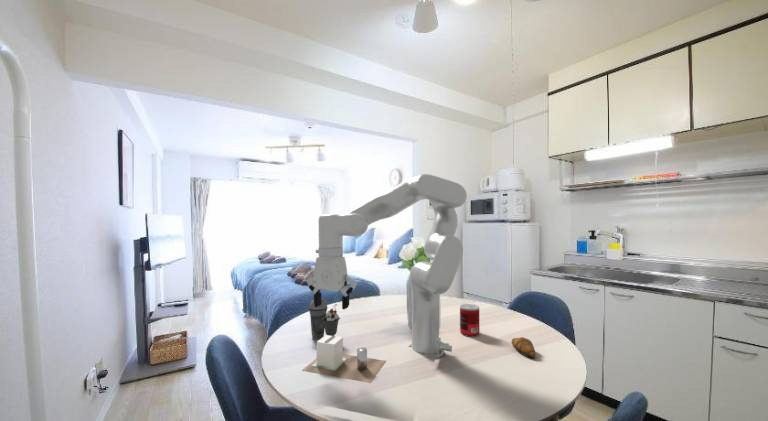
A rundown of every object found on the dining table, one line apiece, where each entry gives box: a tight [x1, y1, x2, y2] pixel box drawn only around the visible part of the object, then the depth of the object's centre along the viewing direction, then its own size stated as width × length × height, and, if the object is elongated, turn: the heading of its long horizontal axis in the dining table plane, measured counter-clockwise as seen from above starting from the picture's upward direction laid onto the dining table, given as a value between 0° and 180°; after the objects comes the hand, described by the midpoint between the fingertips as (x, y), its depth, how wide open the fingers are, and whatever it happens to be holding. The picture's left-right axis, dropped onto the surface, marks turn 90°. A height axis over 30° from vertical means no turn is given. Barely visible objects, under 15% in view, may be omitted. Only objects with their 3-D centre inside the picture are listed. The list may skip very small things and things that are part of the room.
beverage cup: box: [308, 297, 328, 341], centre depth 121 cm, size 7×7×20 cm
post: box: [356, 347, 368, 371], centre depth 92 cm, size 3×3×6 cm
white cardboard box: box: [315, 334, 344, 368], centre depth 95 cm, size 6×6×7 cm
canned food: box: [459, 303, 480, 337], centre depth 126 cm, size 8×8×11 cm
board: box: [301, 353, 387, 384], centre depth 94 cm, size 22×14×2 cm, turn 72°
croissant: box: [511, 336, 536, 359], centre depth 108 cm, size 14×7×5 cm, turn 4°
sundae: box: [322, 303, 341, 336], centre depth 112 cm, size 7×7×15 cm
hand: (331, 307), depth 96 cm, fingers open, 9 cm apart
